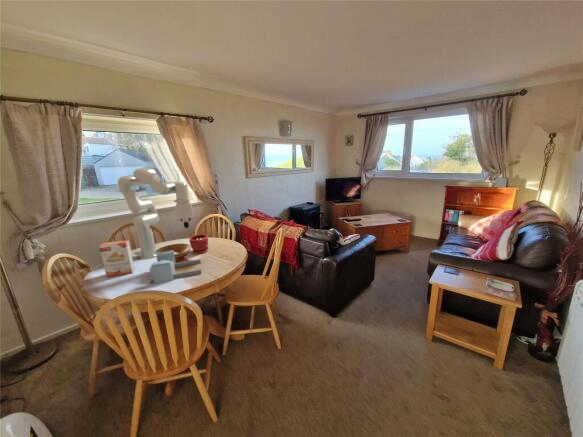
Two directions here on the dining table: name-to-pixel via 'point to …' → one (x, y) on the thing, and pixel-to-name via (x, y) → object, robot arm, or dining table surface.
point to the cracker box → (117, 258)
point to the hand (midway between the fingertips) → (186, 227)
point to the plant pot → (199, 243)
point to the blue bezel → (163, 267)
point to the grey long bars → (184, 272)
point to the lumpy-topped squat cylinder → (171, 266)
